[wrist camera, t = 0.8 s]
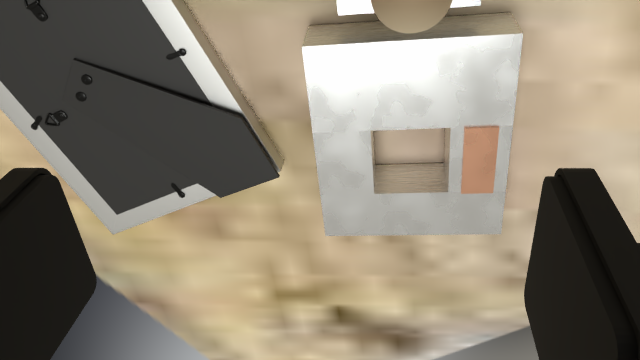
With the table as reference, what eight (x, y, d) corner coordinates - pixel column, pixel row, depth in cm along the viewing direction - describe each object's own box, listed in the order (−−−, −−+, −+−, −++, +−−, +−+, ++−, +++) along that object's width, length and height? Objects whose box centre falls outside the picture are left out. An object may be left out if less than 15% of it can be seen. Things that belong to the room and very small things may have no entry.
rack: (294, -101, 30) (283, -89, 27) (524, -124, 28) (540, -114, 25) (329, 205, 42) (325, 237, 39) (492, 202, 40) (501, 236, 37)
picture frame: (285, 155, 40) (105, -134, 30) (279, 177, 38) (82, -128, 28) (123, 218, 46) (-75, -10, 36) (109, 240, 43) (-107, 3, 34)
